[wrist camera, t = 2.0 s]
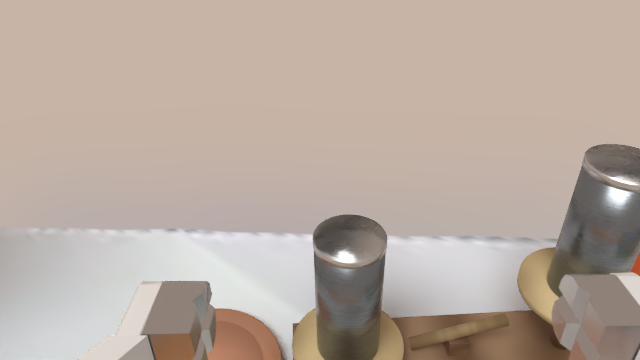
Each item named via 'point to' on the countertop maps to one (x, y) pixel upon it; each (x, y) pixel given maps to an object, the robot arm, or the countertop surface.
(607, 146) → the cylinder
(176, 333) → the robot arm
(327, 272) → the brushed steel peg
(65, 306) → the countertop surface
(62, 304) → the countertop surface
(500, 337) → the balance
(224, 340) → the dish
